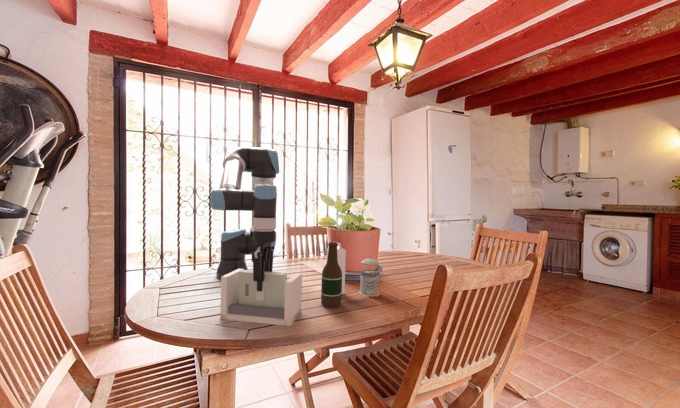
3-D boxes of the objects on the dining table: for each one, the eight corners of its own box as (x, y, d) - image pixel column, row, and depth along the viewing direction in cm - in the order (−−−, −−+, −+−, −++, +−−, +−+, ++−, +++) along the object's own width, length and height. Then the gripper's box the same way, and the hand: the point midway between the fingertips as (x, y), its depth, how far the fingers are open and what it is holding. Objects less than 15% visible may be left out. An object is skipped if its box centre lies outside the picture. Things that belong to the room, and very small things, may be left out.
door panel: (286, 307, 105) (287, 272, 105) (282, 310, 102) (283, 275, 102) (242, 303, 108) (243, 269, 107) (238, 306, 104) (239, 271, 104)
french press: (353, 292, 133) (354, 235, 133) (373, 288, 140) (375, 234, 140) (367, 299, 125) (369, 238, 125) (388, 294, 132) (390, 236, 131)
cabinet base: (220, 318, 101) (221, 276, 100) (238, 306, 113) (239, 268, 112) (290, 326, 97) (291, 282, 97) (300, 312, 109) (302, 273, 108)
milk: (333, 296, 127) (334, 244, 126) (325, 292, 132) (326, 241, 131) (344, 294, 131) (346, 242, 130) (336, 290, 136) (337, 240, 135)
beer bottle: (345, 305, 117) (347, 243, 117) (330, 310, 112) (332, 244, 111) (331, 300, 123) (333, 240, 122) (316, 304, 117) (318, 242, 117)
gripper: (263, 227, 113) (261, 290, 113) (242, 232, 97) (241, 305, 97) (283, 228, 111) (281, 291, 112) (265, 233, 96) (263, 307, 96)
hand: (262, 298), depth 105 cm, fingers closed on door panel, 3 cm apart
